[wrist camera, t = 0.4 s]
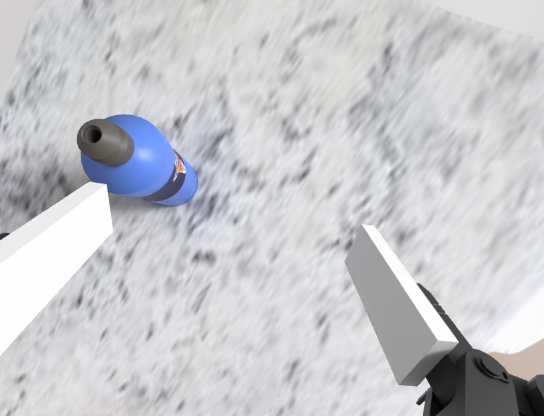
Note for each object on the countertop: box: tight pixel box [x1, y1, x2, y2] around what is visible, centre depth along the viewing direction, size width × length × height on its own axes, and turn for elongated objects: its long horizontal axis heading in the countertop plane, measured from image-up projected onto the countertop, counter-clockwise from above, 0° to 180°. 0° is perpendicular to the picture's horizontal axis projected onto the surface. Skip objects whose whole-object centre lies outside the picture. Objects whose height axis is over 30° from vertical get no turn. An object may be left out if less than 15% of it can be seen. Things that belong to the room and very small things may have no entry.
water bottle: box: [77, 114, 198, 206], centre depth 34 cm, size 9×9×25 cm
